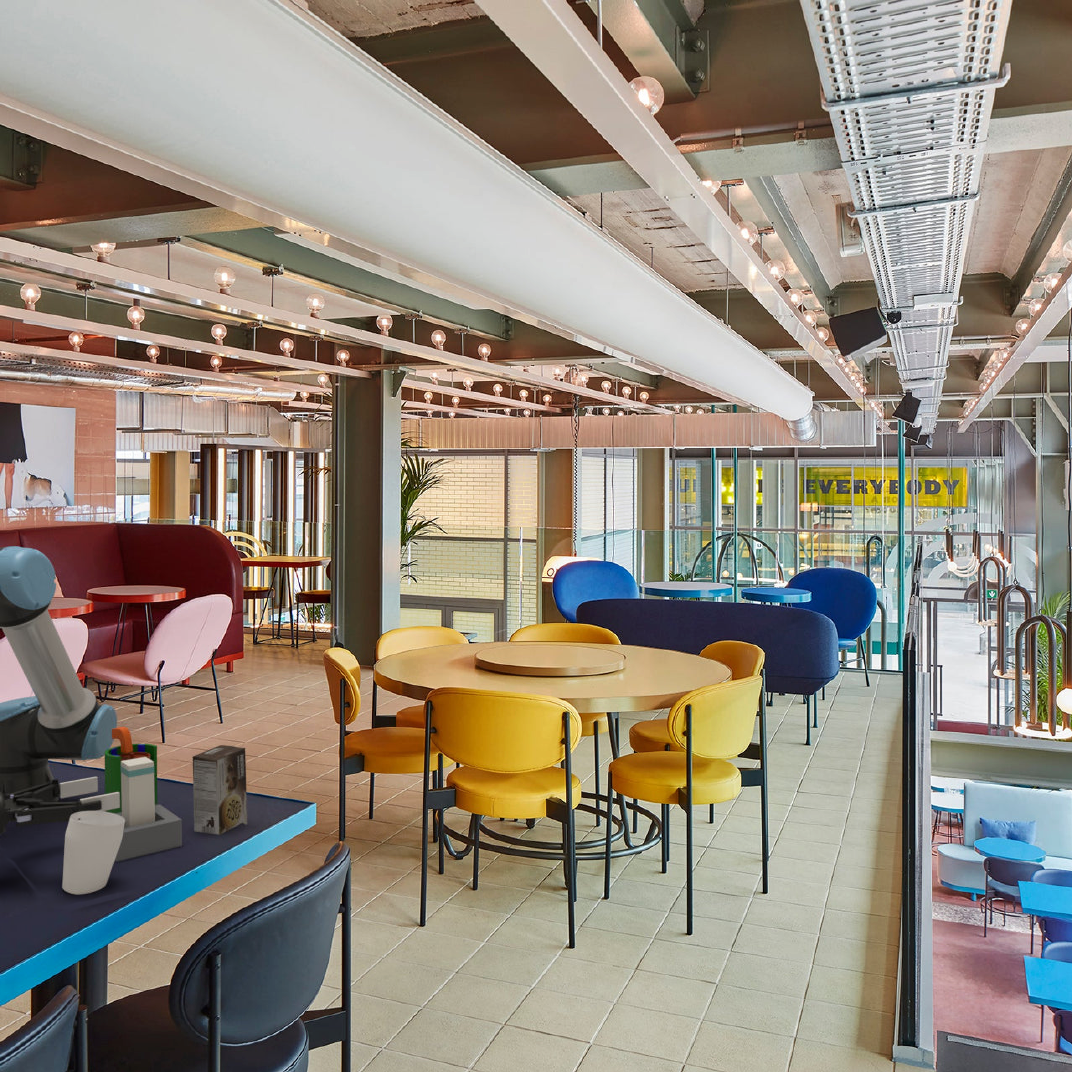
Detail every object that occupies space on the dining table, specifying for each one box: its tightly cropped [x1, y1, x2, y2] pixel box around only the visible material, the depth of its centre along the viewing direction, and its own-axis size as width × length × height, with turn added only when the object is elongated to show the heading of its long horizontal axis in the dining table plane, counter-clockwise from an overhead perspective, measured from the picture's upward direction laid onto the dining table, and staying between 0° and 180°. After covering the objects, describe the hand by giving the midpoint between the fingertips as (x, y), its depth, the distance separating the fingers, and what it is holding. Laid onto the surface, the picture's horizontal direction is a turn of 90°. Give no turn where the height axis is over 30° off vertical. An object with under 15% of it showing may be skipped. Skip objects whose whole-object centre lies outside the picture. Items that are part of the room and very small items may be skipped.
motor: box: [104, 726, 158, 814], centre depth 195 cm, size 10×9×20 cm
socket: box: [114, 803, 183, 862], centre depth 182 cm, size 12×12×6 cm
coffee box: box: [192, 744, 248, 835], centre depth 193 cm, size 9×6×16 cm
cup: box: [61, 811, 125, 896], centre depth 163 cm, size 9×9×12 cm
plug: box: [121, 757, 155, 828], centre depth 182 cm, size 5×5×16 cm
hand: (108, 791), depth 178 cm, fingers open, 13 cm apart
